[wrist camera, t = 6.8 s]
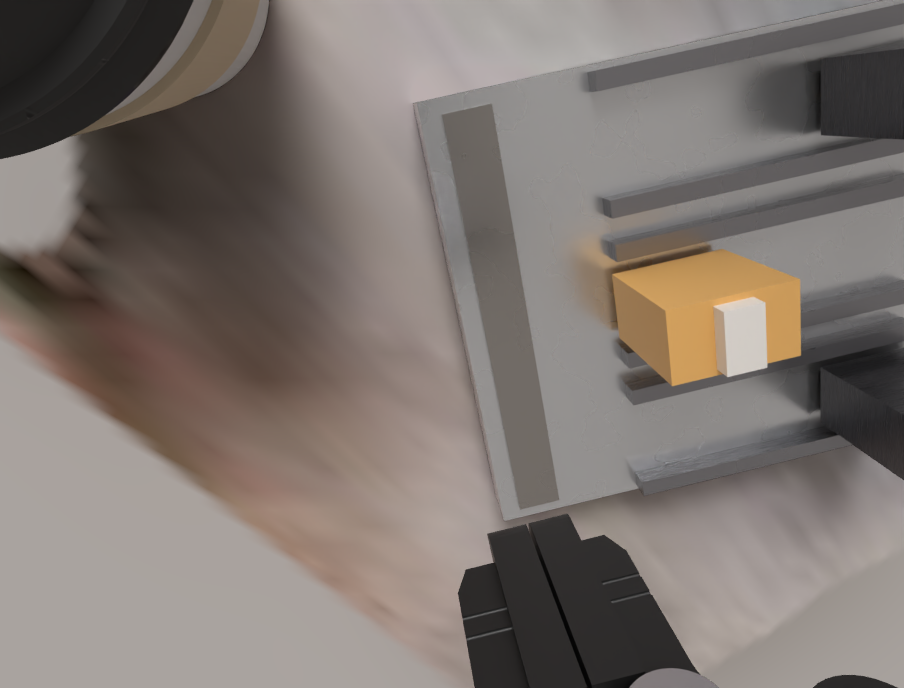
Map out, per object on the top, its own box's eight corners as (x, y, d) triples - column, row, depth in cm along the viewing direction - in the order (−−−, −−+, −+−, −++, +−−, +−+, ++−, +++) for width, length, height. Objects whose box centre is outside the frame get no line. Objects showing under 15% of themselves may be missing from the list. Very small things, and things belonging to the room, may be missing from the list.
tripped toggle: (611, 274, 22) (674, 317, 18) (722, 248, 23) (813, 284, 18) (619, 337, 23) (681, 394, 19) (725, 312, 23) (813, 362, 19)
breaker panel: (412, 103, 22) (428, 99, 16) (1019, -30, 23) (1267, -84, 16) (495, 493, 28) (531, 607, 21) (979, 376, 28) (1153, 452, 22)
